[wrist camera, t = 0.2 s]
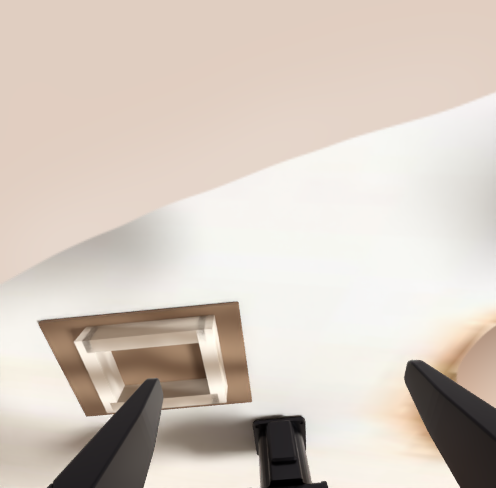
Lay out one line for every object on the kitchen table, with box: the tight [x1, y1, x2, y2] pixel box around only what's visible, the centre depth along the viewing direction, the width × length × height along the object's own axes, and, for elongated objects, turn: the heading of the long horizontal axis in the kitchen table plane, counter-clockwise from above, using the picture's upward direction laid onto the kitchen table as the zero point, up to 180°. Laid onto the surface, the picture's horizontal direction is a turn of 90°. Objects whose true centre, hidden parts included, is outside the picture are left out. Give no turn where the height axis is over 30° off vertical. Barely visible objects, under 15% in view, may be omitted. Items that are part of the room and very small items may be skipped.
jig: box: [38, 302, 252, 417], centre depth 27 cm, size 14×20×2 cm
